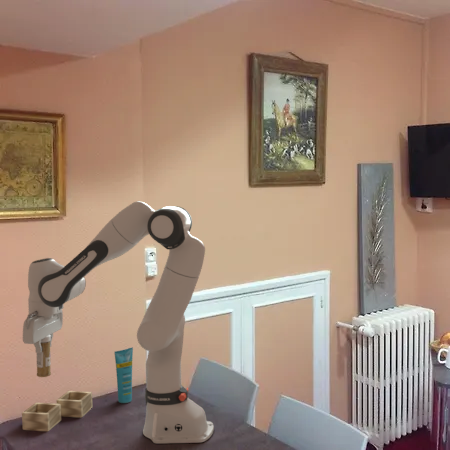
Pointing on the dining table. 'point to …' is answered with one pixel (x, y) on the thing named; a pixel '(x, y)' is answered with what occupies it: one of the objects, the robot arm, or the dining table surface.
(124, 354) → the tube
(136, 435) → the dining table surface
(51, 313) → the robot arm
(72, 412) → the open wooden box
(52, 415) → the open square wooden box
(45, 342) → the sprinkles bottle
